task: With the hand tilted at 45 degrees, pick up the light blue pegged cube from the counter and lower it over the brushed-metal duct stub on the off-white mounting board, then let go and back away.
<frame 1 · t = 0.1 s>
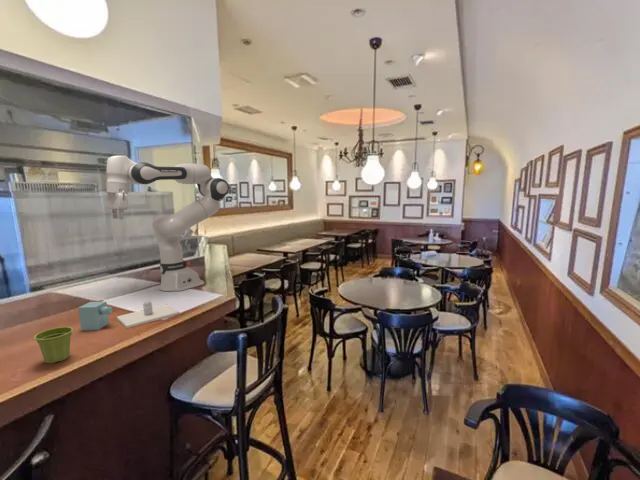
hand: (117, 219, 158), 39 cm above the counter, tool pointing down, fingers open, 8 cm apart
light blue pegged cube: (95, 326, 129), on the counter
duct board: (148, 316, 138), on the counter
plant pot: (57, 359, 104), on the counter
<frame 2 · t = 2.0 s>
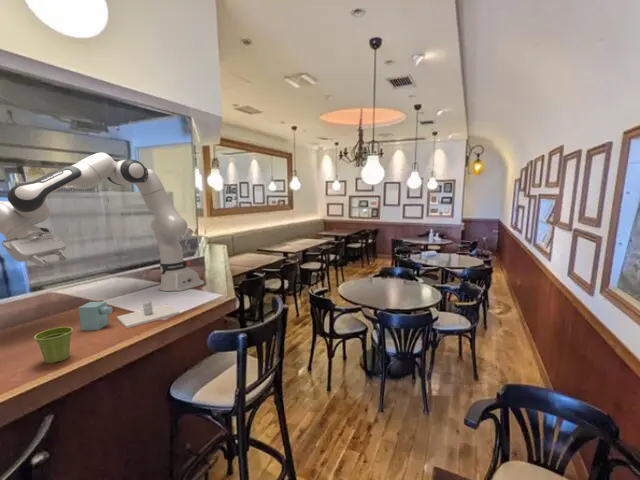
hand: (55, 262, 125), 26 cm above the counter, tool tilted 45°, fingers open, 8 cm apart
nothing on the counter moved.
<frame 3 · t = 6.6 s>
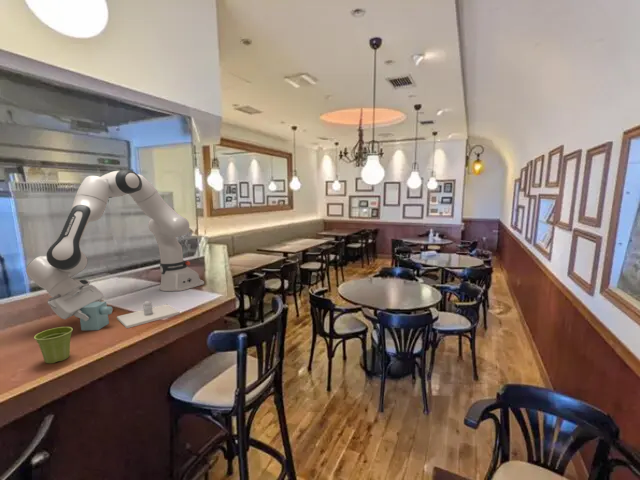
hand: (95, 315, 128), 5 cm above the counter, tool tilted 45°, fingers closed on light blue pegged cube, 6 cm apart
light blue pegged cube: (95, 326, 129), on the counter, touching gripper
everything else where it was.
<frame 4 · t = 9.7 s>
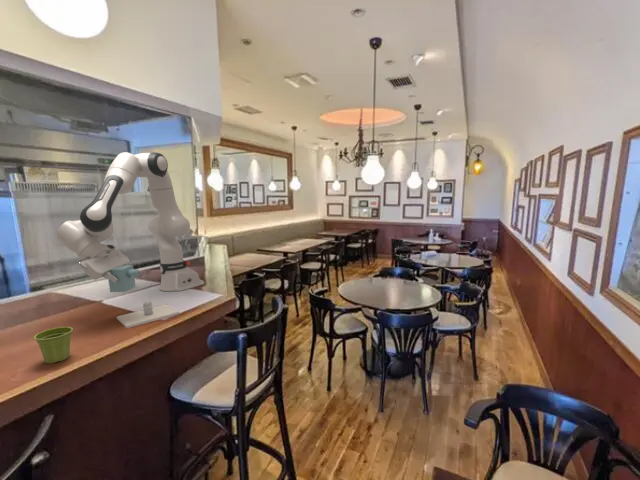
hand: (123, 278, 132), 18 cm above the counter, tool tilted 45°, fingers closed on light blue pegged cube, 6 cm apart
light blue pegged cube: (123, 289, 133), point 13 cm above the counter, touching gripper
everything else where it was.
when the fingers open (7 cm above the counter, at t = 12.8 s): light blue pegged cube drops 1 cm, resting on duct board.
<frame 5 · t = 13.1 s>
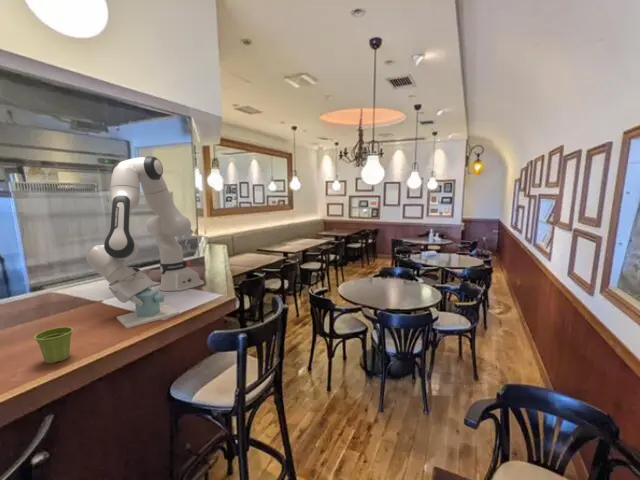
hand: (148, 300, 137), 7 cm above the counter, tool tilted 45°, fingers open, 8 cm apart
light blue pegged cube: (148, 314, 138), point 1 cm above the counter, touching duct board
everything else where it was.
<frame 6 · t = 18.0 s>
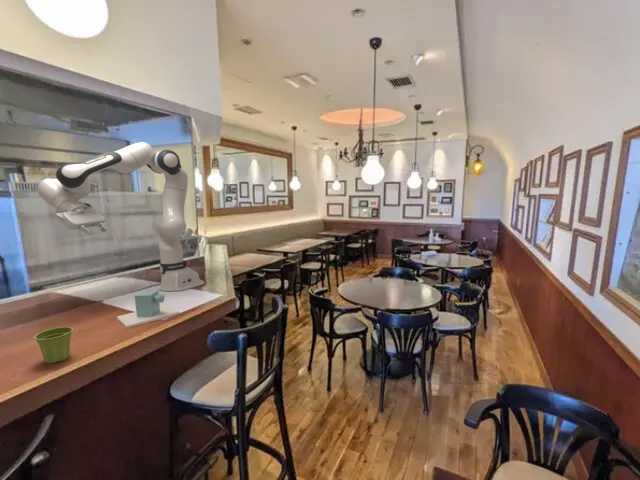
hand: (98, 232, 144), 34 cm above the counter, tool tilted 45°, fingers open, 8 cm apart
nothing on the counter moved.
at the end: light blue pegged cube 0.1 cm off-centre on the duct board, point 1.0 cm above the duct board's base; light blue pegged cube tilted 0°; the gripper is holding nothing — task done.
